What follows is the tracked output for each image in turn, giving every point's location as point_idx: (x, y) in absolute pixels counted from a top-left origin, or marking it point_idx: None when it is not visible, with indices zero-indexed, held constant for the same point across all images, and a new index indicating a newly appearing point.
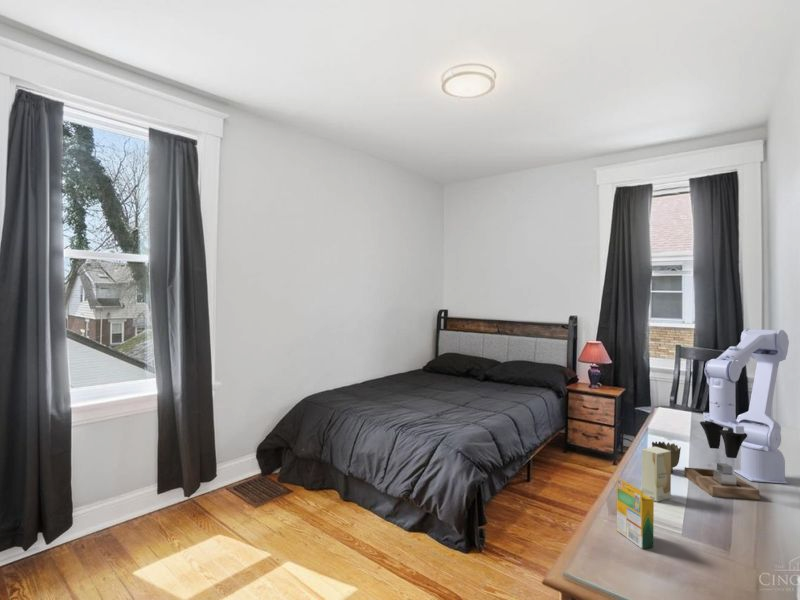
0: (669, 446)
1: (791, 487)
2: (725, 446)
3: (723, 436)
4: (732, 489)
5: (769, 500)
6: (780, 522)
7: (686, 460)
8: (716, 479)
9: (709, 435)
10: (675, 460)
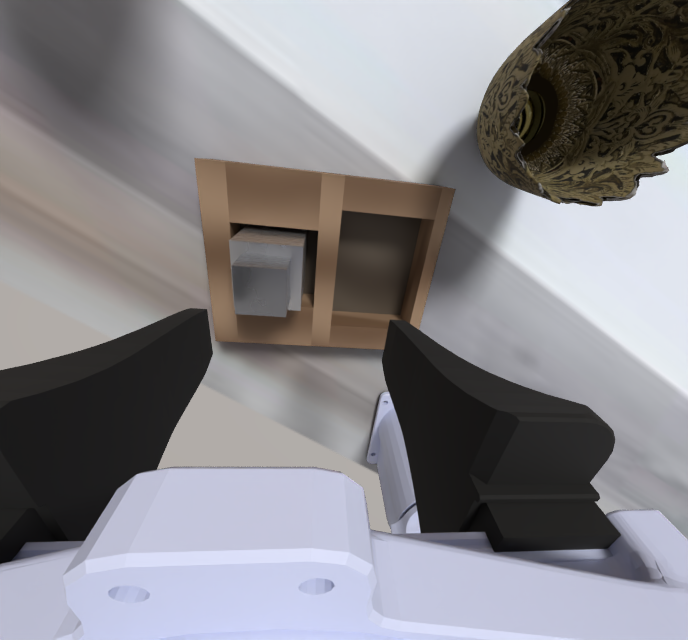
0: (630, 172)
1: (346, 454)
2: (146, 334)
3: (35, 378)
4: (206, 248)
5: (234, 351)
6: (33, 269)
7: (586, 309)
8: (280, 235)
9: (424, 370)
10: (485, 133)
